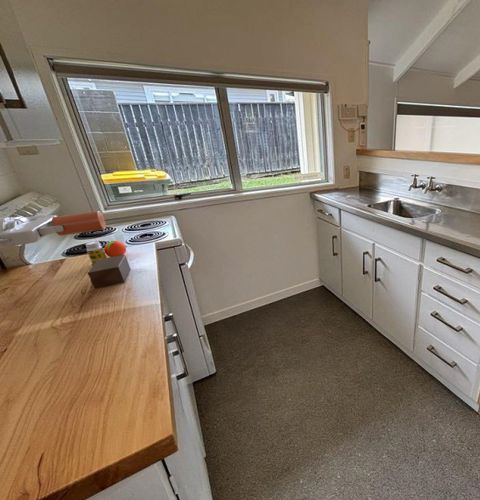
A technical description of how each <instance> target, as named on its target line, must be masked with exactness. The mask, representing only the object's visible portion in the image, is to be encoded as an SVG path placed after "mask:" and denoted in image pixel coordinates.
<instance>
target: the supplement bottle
mask: <svg viewBox="0 0 480 500" xmlns="http://www.w3.org/2000/svg"><path fill="white" fill-rule="evenodd" d="M85 247H86V253H87V255H88V258H89V260H90V263H91V264H92V265H93V264H95V262H96V261H97V260H98V259H104V258H107V254H106V253H105V251H104V248H103V246H102V245H101V243H100V242H99V240H95V241H89V242H86V243H85Z"/></svg>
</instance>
